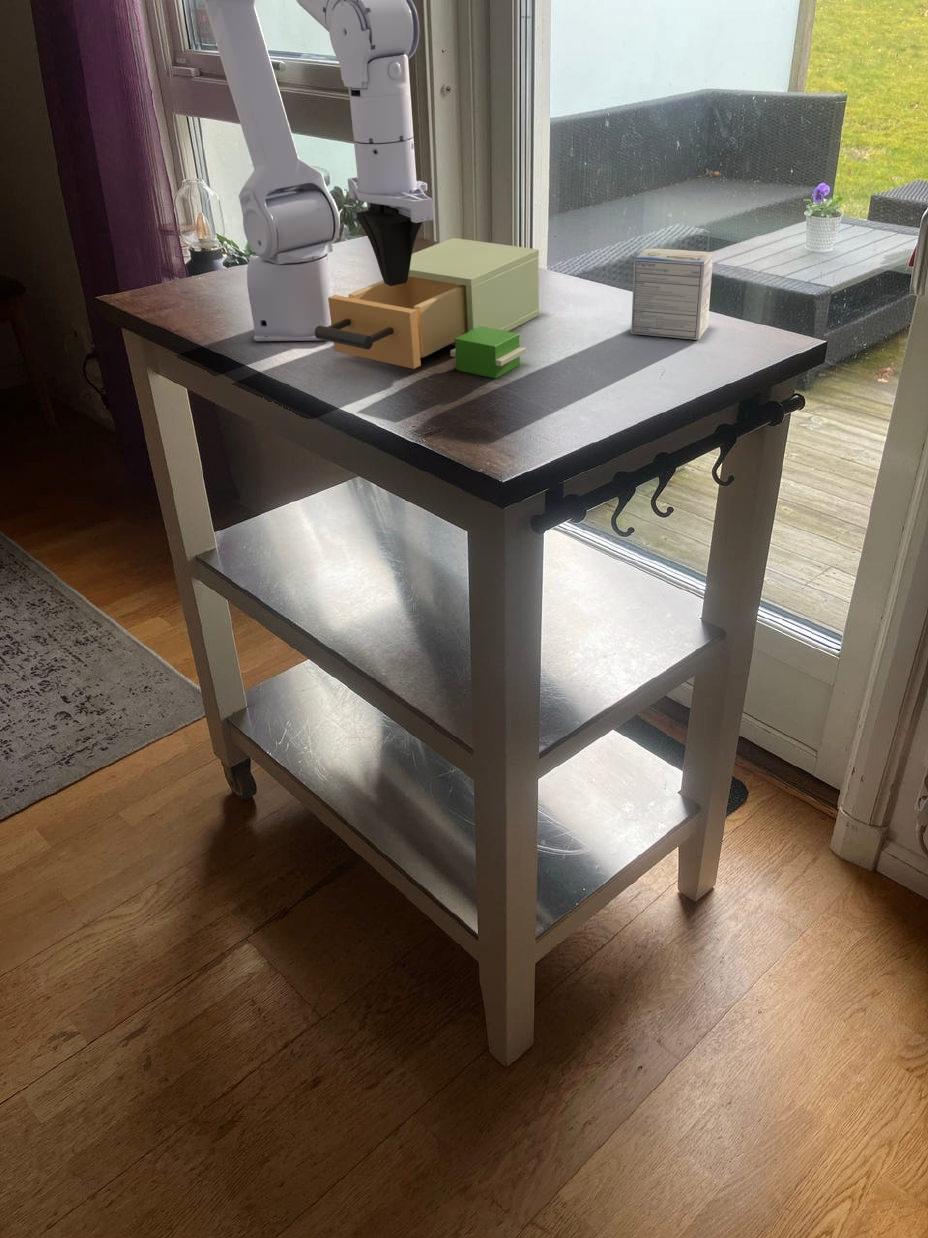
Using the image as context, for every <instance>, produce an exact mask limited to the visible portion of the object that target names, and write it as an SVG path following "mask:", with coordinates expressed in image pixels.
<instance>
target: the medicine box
mask: <svg viewBox="0 0 928 1238" xmlns="http://www.w3.org/2000/svg"><path fill="white" fill-rule="evenodd" d="M713 263H714V253H713V252H711V251H701V250H700V251H698V250H685V249H668V248H645V249H644V250H642V251H641V252H640V253H639V254H638V255H636V257H635V258H634V259H633V275H632V276H633V280H632V298H631V300H632V302H631V303H632V305H631V324H630V325H631V327H630V334H631V335H639V336H649V337H663V338H672V339H684V340H695V341H699V340H701V339H700V338H701V337H702V336H703V334H704V333H705V332H706V330H707V329H708V326H709V318H710V317H709V315H710V314H709V313H710V300H711V288H712V277H713V266H714V265H713Z"/></svg>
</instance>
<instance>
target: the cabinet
mask: <svg viewBox="0 0 928 1238" xmlns="http://www.w3.org/2000/svg"><path fill="white" fill-rule="evenodd" d="M539 252H540V249H539V248H538V249H537V248H530V247H524V246H523V247H522V246H515V245H510V244H509V245H508V244H500V243H494V242H486V241H478V240H473V239H472V240H471V239H463V238H455V237H452V238H449V239H447V240H444V241H442V242H438V243H436V244H434V245H431V246H429V247H426V248H423V249H421V250H419V251H416V252H412V257H411V263H410V270H409V277H415V278H421V279H427V280H433V281H440V282H446V283H452V284H458V285H464V286H466V302H467V324H468V332H469V331H471V330H473V329H475V328H477V327H479V326H481V327H487V328H492V329H497V330H503V331H508V332H511V331H512V330H514V329H516V328H518V327H520V326H522V325H523V324H525V323H528V322H529V321H532V320H533V319H535V318H537V317H539V316H540V309H539V308H540V286H539V285H540V278H539V277H540V274H539V273H540V266H539V265H540V263H539V260H540V259H539V258H540V257H539V256H540V253H539ZM449 345H451V346H455V342H453V343H451V344H449Z"/></svg>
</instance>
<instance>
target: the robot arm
mask: <svg viewBox="0 0 928 1238" xmlns="http://www.w3.org/2000/svg"><path fill="white" fill-rule="evenodd" d="M295 1H296V2H297V4H298V5H299V6H300V7H301V8H302V9H303V10H304V11H305V12H306V13H307V14H309V15H310V17H312V18H313V19H314V20H315V21H316V22H317V23H318V24H320V25H321V27H323V28H324V29H325V30H326V31H327V32H328V35H329V40H330V45H331V47H332V50H333V53H334V54H335V57H336V59H337V61H338V64H339V68H340V78H341V81H342V82H343V86H344V87H345V88H348V97H349V107H350V115H351V123H352V124H351V125H352V126H351V127H352V137H353V145H354V155H355V165H356V166H355V167H356V177H350V178H347V187H348V188H347V189H348V194H349V195H348V196H349V199H351V200H353V201H354V200H358V201H360V202H363V203H367V204H369V206H368V209H367V210H363V211H359V212H356V220H357V221H358V223H359V225H360V226H361V228H362V229H363V231H364V232H365V234H366V236H367V238H368V241H369V242H370V245H371V248H372V250H373V253H374V255H375V258H376V262H377V265H378V269H379V272H380V274H381V278H382V281H383V280H384V283H385V284H387V285H389V286H394V285H399V284H404V283H407V281H408V276H409V270H410V263H411V257H412V254H413V253H414V252H413V251H414V247H415V243H416V239H417V237H418V233H419V232H420V229H421V227H422V225H423V223H424V222H428V221H433V220H435V217H434V205H433V204H434V201H433V200H434V199H433V198H432V197H429V196H428V195H426V194H425V192H427V191H428V183H427V182H424V181H421V180H417V170H416V168H417V167H416V157H415V156H416V155H415V140H414V125H413V113H412V112H413V110H412V96H411V83H410V68H409V67H410V66H409V59H411V58H412V57H413V56H414V54H415V53H416V51H417V49H418V45H419V42H420V41H419V40H420V19H419V15H418V11H417V8H416V6H415V4H414V1H413V0H295ZM202 2H203V7H204V8H205V9H204V10H205V13H206V15H207V19H208V22H209V25H210V29H211V32H212V36H213V38H214V42H215V46H216V48H217V52H218V55H219V58H220V62H221V65H222V68H223V72H224V75H225V77H226V81H227V84H228V87H229V90H230V91H229V92H230V94H231V98H232V101H233V104H234V107H235V110H236V115H237V118H238V120H239V124H240V127H241V130H242V134H243V137H244V140H245V143H246V147H247V151H248V153H249V156H250V160H251V163H252V167H253V171H252V173H251V174H250V176H249V177H248V179H247V180H246V181H245V183H244V184H243V186H242V188H241V190H240V192H239V193H238V199H239V204H240V208H241V214H242V227H243V232H244V235H245V238H246V242H247V243H248V246H249V247H250V249H251V250H252V251H253V253H254V254H256V256H253V257H251V258H250V259H249V261H248V264H247V267H246V285H247V286H246V287H247V293H248V299H249V305H250V311H251V317H252V322H253V329H254V334H255V335H254V337H253V340H254V341H255V342H283V341H284V342H290V341H291V342H294V341H295V342H296V341H298V342H301V341H302V342H303V341H311V342H312V341H321V340H320V339H317V338H316V337H315V329H316V327H317V326H325V327H328V326H330V325H331V318H330V310H329V302H328V298H329V297H331V296H334V295H333V287H332V281H331V278H332V277H331V271H330V262H329V253H332V252H333V251H334V250H333V249H334V248H333V244H334V243H335V242H336V241H337V239H338V236H339V233H340V229H341V217H340V213H339V209H338V206H337V204H336V201H335V200H334V198H333V197H332V195H331V193H330V191H329V189H328V187H327V184H326V181H325V178H324V175H323V173H322V172H321V171H319V170H318V169H316V168H314V167H313V166H311V165H310V164H308V163H306V162H304V161H303V160H302V159H301V158H300V157H299V154H298V151H297V148H296V144H295V140H294V137H293V134H292V130H291V127H290V123H289V120H288V117H287V113H286V110H285V109H286V108H285V105H284V103H283V102H284V101H283V99H282V95H281V92H280V88H279V85H278V82H277V79H276V75H275V72H274V67H273V65H272V61H271V58H270V54H269V51H268V47H267V44H266V41H265V38H264V33H263V31H262V26H261V23H260V20H259V17H258V14H257V10H256V9H257V8H256V5H255V3H256V0H202ZM289 192H290V193H289ZM292 192H293V193H292ZM284 193H288V194H284ZM281 194H283V195H281ZM275 195H279V196H275ZM270 196H275V197H270ZM267 197H269V198H267Z"/></svg>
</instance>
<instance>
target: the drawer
mask: <svg viewBox="0 0 928 1238" xmlns="http://www.w3.org/2000/svg"><path fill="white" fill-rule="evenodd" d="M328 302H329V310H330V318H331V325H330V326H328V327H325V326H317V327H316V329H315V337H316V338H317V339H320V340H319V341H326V342H330V343H333V350H334V352H336V353H341V354H345V355H350V356H354V357H358V358H363V359H368V360H373V361H376V362H380V363H386V364H390V365H395V366H398V367H403V368H408V369H413V370H415V369H417V368H419V367H421V358H425V357H427V356H429V355H431V354H434V353H435V352H437V351H439V350H441V349H443V348H445V347H447V346H449V345H450V344H451V343H453V342H455V338H457V337H459V336H461V335H463V334H465V333H467V332H468V324H467V302H466V286H464V285H458V284H452V283H446V282H440V281H433V280H427V279H421V278H415V277H409V276H408V281H407V283H404V284H399V285H394V286H389V285H387V284H385V283H384V280H383V279H382V280H381V281H378V282H375V283H373V284H370V285H368V286H365V287H364V288H361V289H358V290H355V291H353V292H351V293H348V296H344V295H338V294H334V295H333V296H331V297H329V298H328Z"/></svg>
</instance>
